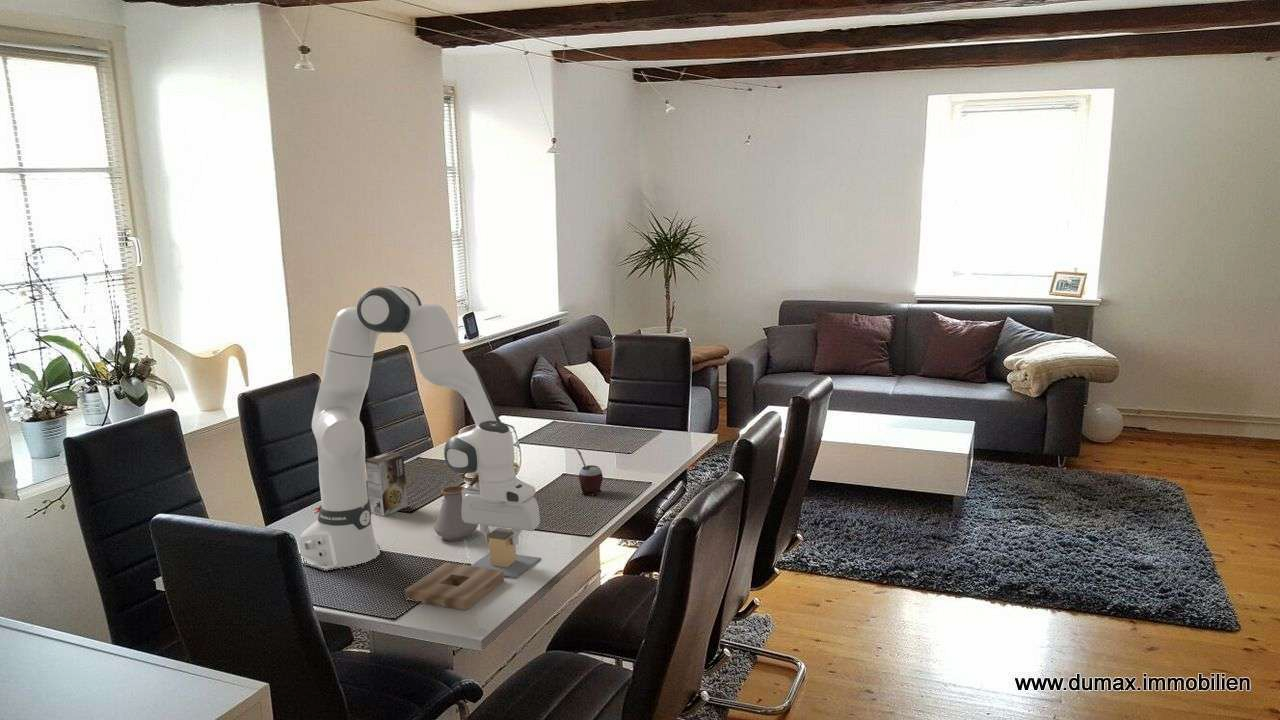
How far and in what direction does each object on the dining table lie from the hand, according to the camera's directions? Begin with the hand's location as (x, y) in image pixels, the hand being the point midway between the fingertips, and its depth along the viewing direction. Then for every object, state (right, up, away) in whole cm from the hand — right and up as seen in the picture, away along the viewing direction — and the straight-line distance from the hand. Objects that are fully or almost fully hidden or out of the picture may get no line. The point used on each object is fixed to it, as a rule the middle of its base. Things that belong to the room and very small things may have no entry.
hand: (501, 543), depth 225 cm
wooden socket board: (-9, -9, -12) cm, 17 cm away
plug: (0, -5, +2) cm, 5 cm away
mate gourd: (+19, +4, +51) cm, 54 cm away
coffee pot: (-13, -2, +26) cm, 29 cm away
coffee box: (-39, +1, +43) cm, 58 cm away
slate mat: (0, -6, +1) cm, 6 cm away
